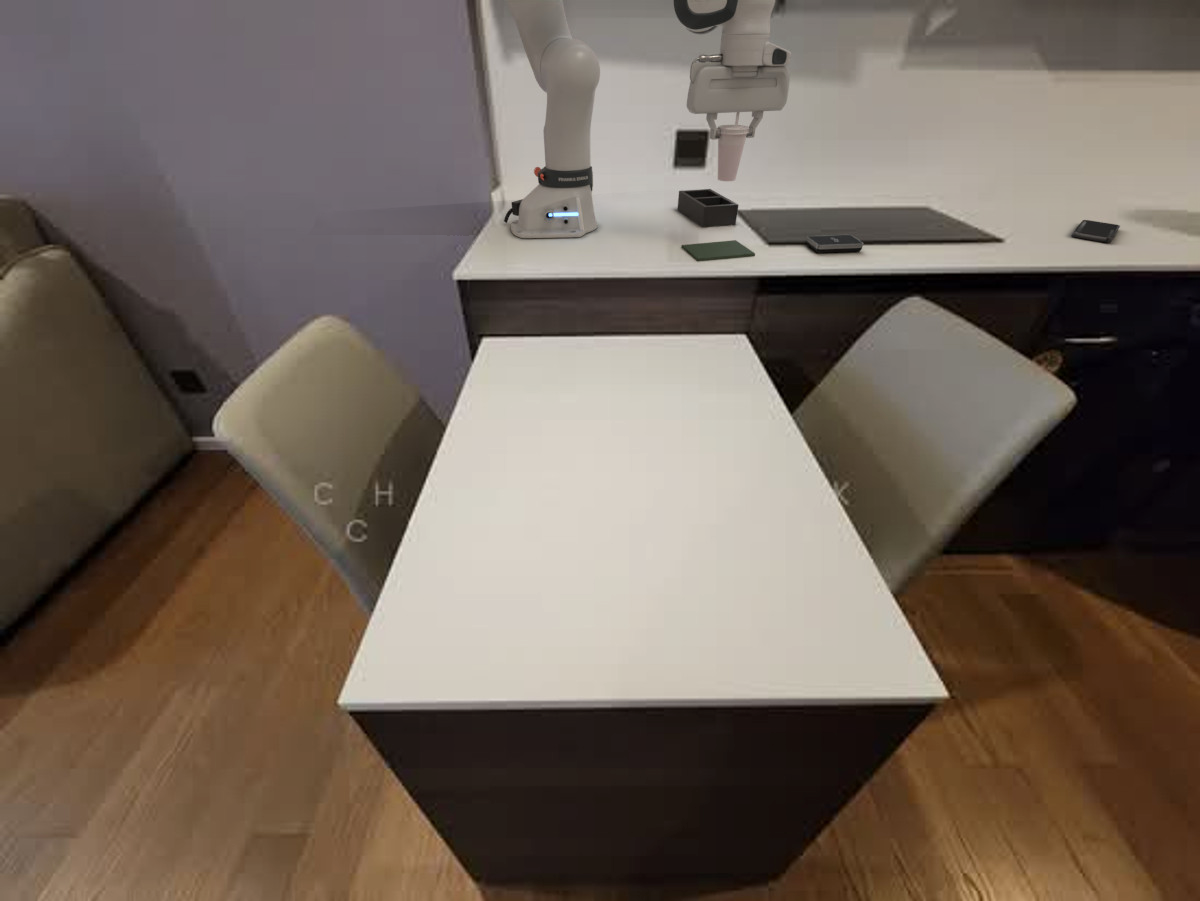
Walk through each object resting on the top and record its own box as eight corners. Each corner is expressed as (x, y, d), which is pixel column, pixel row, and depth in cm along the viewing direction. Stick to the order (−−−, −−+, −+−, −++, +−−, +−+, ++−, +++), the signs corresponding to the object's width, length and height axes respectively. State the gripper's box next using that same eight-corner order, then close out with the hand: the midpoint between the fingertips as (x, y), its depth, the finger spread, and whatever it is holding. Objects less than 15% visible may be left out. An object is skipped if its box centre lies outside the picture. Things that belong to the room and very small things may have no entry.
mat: (697, 261, 117) (697, 258, 117) (681, 247, 125) (681, 244, 124) (754, 255, 120) (755, 253, 119) (735, 242, 127) (735, 240, 127)
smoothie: (744, 182, 110) (756, 103, 102) (713, 182, 110) (723, 103, 102) (738, 176, 115) (749, 99, 107) (709, 176, 115) (718, 99, 107)
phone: (1073, 232, 129) (1083, 219, 137) (1070, 236, 130) (1081, 223, 138) (1113, 238, 125) (1121, 225, 133) (1110, 243, 125) (1118, 229, 134)
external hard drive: (861, 252, 121) (864, 243, 120) (815, 254, 121) (817, 245, 119) (848, 243, 127) (850, 234, 126) (803, 244, 126) (805, 236, 125)
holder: (735, 224, 139) (738, 204, 136) (702, 227, 137) (704, 207, 134) (708, 207, 153) (710, 188, 150) (677, 209, 151) (678, 190, 148)
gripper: (698, 55, 95) (690, 143, 104) (799, 53, 99) (784, 138, 108) (685, 54, 100) (678, 138, 108) (782, 52, 104) (768, 133, 112)
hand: (732, 138), depth 108 cm, fingers closed on smoothie, 6 cm apart
